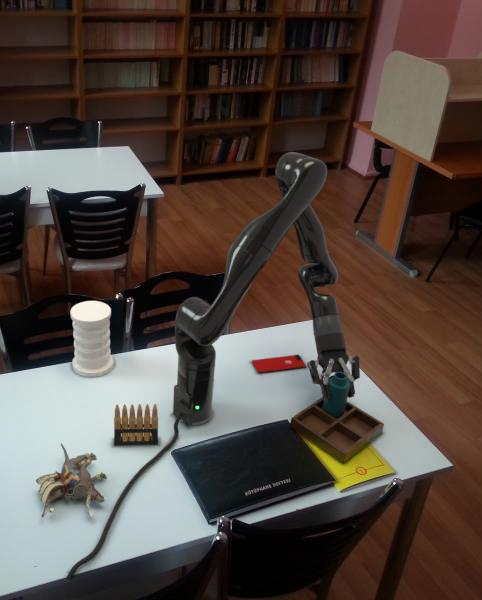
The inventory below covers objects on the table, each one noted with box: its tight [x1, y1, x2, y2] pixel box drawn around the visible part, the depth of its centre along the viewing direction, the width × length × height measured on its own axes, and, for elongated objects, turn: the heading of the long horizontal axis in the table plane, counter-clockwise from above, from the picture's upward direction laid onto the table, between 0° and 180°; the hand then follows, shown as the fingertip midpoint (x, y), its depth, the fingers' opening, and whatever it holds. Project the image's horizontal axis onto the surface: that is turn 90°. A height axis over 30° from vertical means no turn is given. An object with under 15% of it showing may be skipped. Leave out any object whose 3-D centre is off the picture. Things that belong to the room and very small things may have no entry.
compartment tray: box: [289, 396, 385, 464], centre depth 157 cm, size 17×17×3 cm
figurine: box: [35, 442, 108, 520], centre depth 133 cm, size 20×6×17 cm
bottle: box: [323, 372, 351, 417], centre depth 159 cm, size 6×6×12 cm
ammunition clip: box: [113, 403, 159, 447], centre depth 146 cm, size 11×2×12 cm, turn 95°
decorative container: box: [69, 300, 115, 378], centre depth 171 cm, size 12×12×18 cm
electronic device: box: [251, 354, 307, 374], centre depth 180 cm, size 6×1×15 cm
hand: (339, 398), depth 157 cm, fingers closed on bottle, 6 cm apart
